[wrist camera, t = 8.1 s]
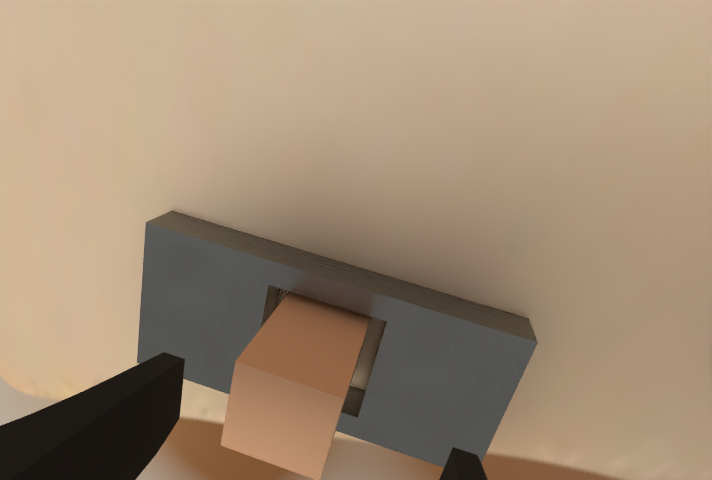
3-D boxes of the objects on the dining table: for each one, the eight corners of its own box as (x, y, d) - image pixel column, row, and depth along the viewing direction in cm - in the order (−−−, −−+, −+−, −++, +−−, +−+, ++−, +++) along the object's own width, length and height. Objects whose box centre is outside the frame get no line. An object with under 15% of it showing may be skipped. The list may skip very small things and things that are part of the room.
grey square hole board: (528, 318, 20) (537, 342, 18) (471, 446, 23) (474, 477, 21) (171, 211, 22) (145, 222, 20) (160, 342, 24) (137, 362, 23)
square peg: (374, 304, 21) (344, 398, 15) (355, 369, 23) (319, 480, 16) (298, 280, 22) (235, 361, 15) (283, 345, 23) (220, 445, 16)
